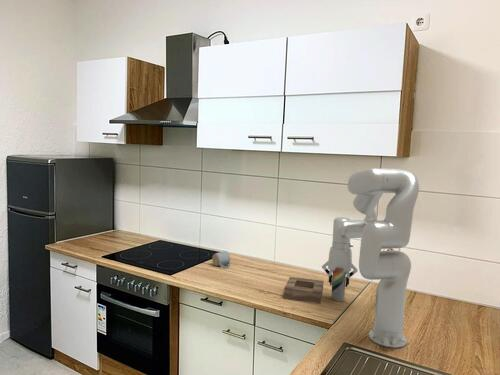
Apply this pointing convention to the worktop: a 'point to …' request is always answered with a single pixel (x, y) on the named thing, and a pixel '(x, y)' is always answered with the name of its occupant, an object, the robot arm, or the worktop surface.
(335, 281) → the lotion bottle
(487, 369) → the worktop surface
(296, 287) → the holder
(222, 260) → the ceramic mug
